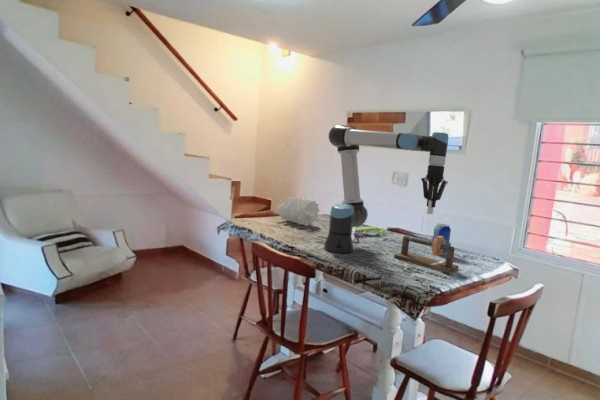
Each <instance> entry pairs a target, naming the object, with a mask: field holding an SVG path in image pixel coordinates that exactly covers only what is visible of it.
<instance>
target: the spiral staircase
mask: <svg viewBox="0 0 600 400" xmlns="http://www.w3.org/2000/svg"><path fill="white" fill-rule="evenodd" d="M276 208H277V213H278V216H280V219H281V220H285V221H286V222H292V224H294V223H296V224H297V225H298V226H299V225H302V226H303V225H304V227H308V226H312V225H313V224H314V222H316V221H317V219H319V212H320V208H319V204H318V203H317V202H316V200H311V199H306V198H303V199H302V197H301V196H300V197H296V196H291V195H290V196H289V197H288V198H286V200H285V201H284V203H281V204H280V205H278V206H276Z"/></svg>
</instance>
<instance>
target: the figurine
mask: <svg viewBox="0 0 600 400" xmlns="http://www.w3.org/2000/svg"><path fill="white" fill-rule="evenodd" d="M355 229H356V230H355V232H354V233H355V236H356V237H358V238H362V237H363V238H364V236H365V235H366V234H368V235H369V232H373V231H376V232H377V233H380V234H382V235H389V234H390V235H394V234H395V233H394V232H391V231H388V232H386V230H385V228H383V227H382V228H380V227H378V226H362V227H355Z"/></svg>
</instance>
